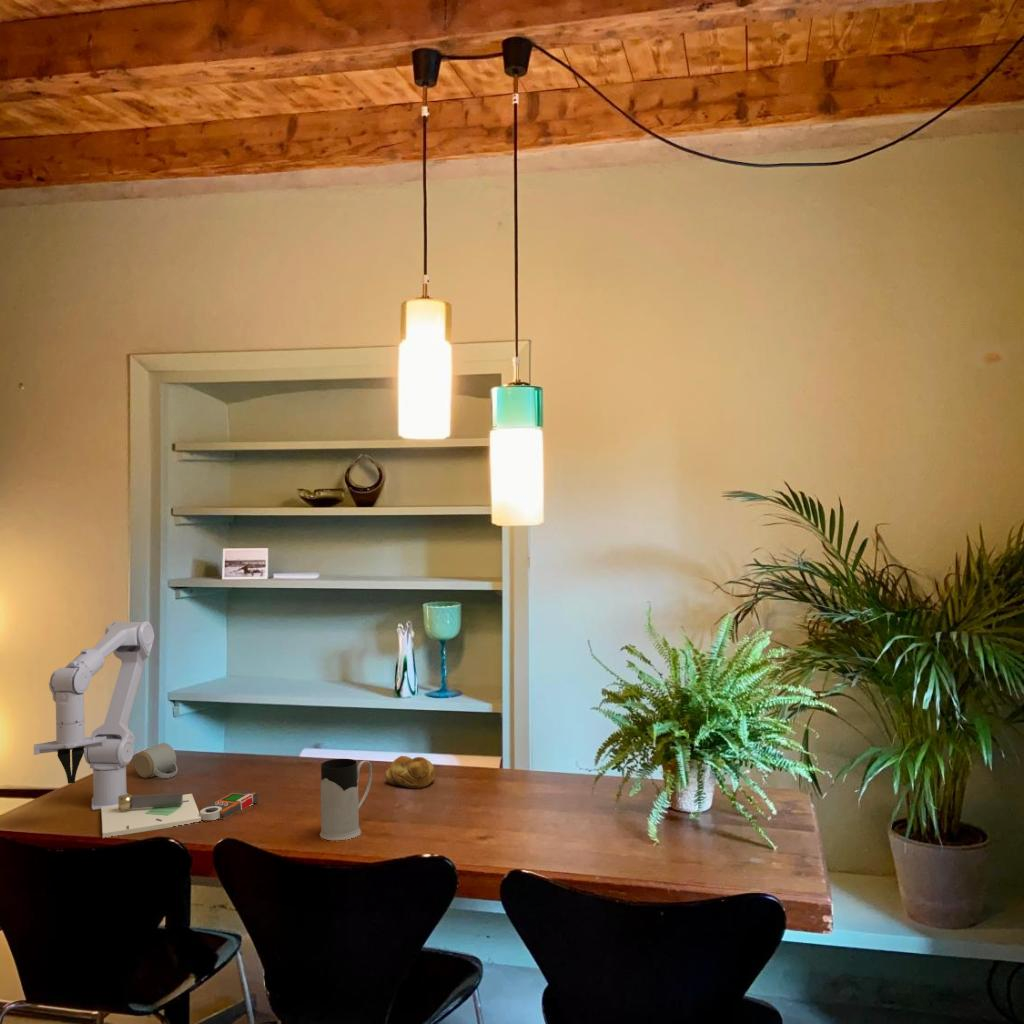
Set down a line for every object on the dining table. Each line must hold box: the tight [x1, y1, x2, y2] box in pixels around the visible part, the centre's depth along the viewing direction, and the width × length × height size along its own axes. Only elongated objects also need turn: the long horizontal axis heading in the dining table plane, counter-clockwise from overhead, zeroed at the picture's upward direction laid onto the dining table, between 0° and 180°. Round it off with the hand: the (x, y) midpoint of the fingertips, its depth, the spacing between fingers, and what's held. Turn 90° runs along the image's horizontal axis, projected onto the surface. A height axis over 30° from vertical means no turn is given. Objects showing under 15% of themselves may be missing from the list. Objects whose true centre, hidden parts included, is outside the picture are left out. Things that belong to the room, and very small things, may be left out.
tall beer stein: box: [319, 758, 373, 841], centre depth 192 cm, size 9×14×15 cm, turn 146°
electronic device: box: [199, 789, 259, 821], centre depth 207 cm, size 7×3×15 cm
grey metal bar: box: [118, 792, 184, 811], centre depth 206 cm, size 14×3×3 cm, turn 98°
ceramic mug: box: [134, 742, 179, 779], centre depth 237 cm, size 11×8×8 cm
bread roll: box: [384, 755, 436, 789], centre depth 225 cm, size 13×10×8 cm
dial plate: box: [100, 793, 202, 839], centre depth 204 cm, size 20×20×1 cm
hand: (71, 782), depth 200 cm, fingers closed
